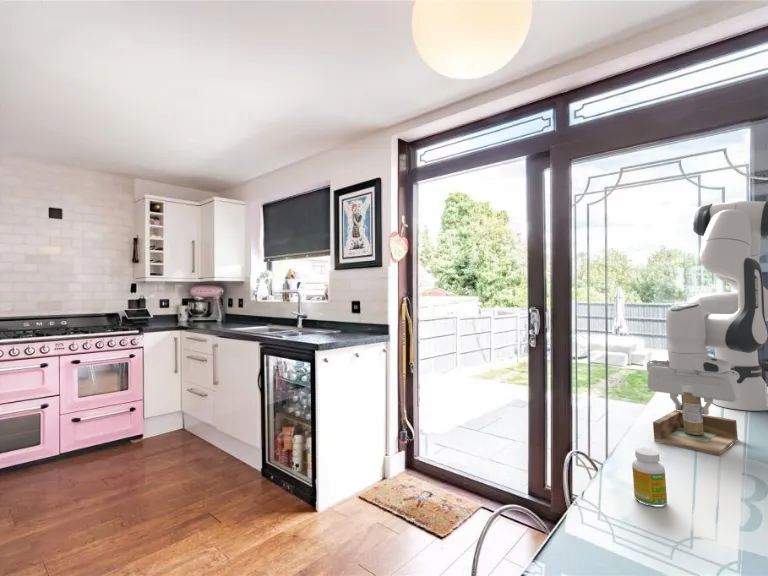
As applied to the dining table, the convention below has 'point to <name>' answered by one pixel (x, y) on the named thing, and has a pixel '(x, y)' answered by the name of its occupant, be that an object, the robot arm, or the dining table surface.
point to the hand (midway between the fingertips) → (692, 412)
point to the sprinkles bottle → (691, 412)
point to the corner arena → (712, 441)
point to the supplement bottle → (649, 477)
